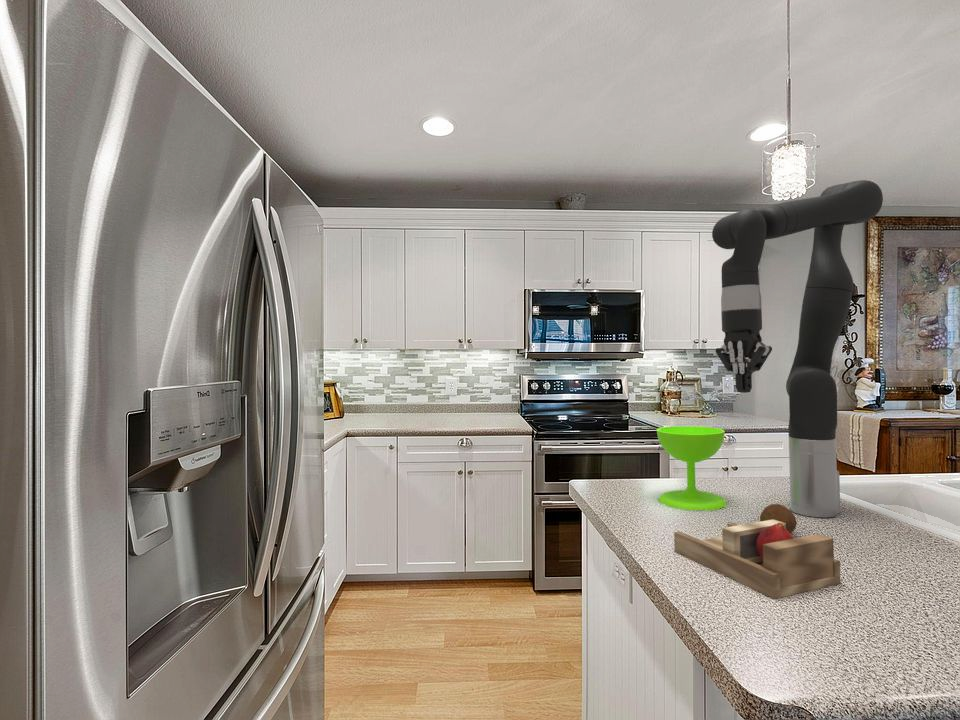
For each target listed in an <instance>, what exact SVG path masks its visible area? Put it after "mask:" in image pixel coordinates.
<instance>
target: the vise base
mask: <svg viewBox="0 0 960 720" xmlns="http://www.w3.org/2000/svg"><path fill="white" fill-rule="evenodd" d="M726 525H727V526H726V527H731V526H737V525H739V524H737V523H735V522H728V523H726ZM673 535H674V536H673V538H674V539H673V541H674V544H673V545H674V552H675V553H677V554H679V555H682V556H685V557H686V558H687V559H690V560H693V561H695V562H697V563H699V564H701V565H703V566H705V567H707V568H709V569H712V570H713V571H715V572H718V573H720V574H722V575H723V576H725V577H727V578H730V579H732V580H734V581H736V582H738V583H740V584H742V585H744V586H746V587H748V588H750V587H751V588H750V589H753V590H755V591H757V592H759V593H760V594H763V595H765V596H767V597H770V598H771V599H773V600H775V599H780V598H784V597H787V596H793V595H797V594H801V593H806V592H809V591H815V590H818V589H822V588H826V587H831V586H835V585H839V584H841V560H839V559H836V558H835V553H834V551H835V550H834V537H829V536H826V535H824V534H820V533H816V534H812V535H806V536H799V537H795V538H794V537H793V538H794V539H789V540H784V541H778V542H773V543H768V544H763V561H762V562H757V563H753V562H751V561H748V560H746V559H744V558H741V557H739V556H737V555H734V554H732V553H730V552H727V551H725V550H723V540H722V536H718V537H717V536H716V537H711V538H706V539H698V538H696V537H694V536H691V535H689V534H687V533H684V532H682V531H681V530H679V531H678V530H677V531H673Z"/></svg>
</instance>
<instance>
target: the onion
mask: <svg viewBox="0 0 960 720" xmlns="http://www.w3.org/2000/svg"><path fill="white" fill-rule="evenodd" d="M784 526H785V525H784V523H783V522H778V523H776V524H775V525H772V526H769V527H767V528H765V529H764V530H762V531H761V533H760V534H759V536H758V538H757V541H756V548H757V550H758V552H759V554H760V556H761V557H762V558H763V544H768V543H773V542H778V541H784V540H789V539H794V537H793V535H792V533H791V534H790V533H789V532H788V531H787V530H786V529H785V528H784Z"/></svg>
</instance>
